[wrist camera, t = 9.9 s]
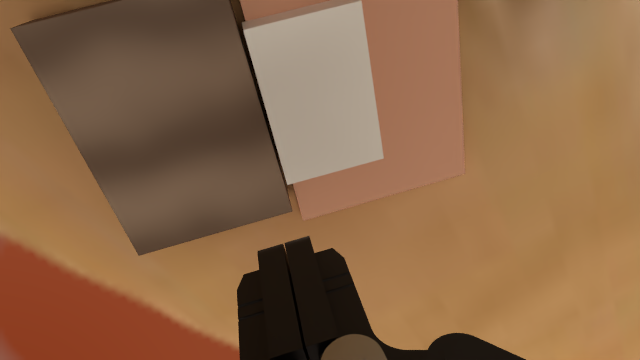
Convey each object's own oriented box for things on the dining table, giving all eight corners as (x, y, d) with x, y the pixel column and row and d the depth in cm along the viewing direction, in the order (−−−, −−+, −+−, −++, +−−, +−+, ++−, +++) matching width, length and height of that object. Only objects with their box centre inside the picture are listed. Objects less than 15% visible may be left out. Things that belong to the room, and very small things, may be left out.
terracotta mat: (218, -73, 21) (218, -74, 20) (443, -128, 22) (452, -132, 21) (301, 213, 30) (303, 220, 30) (458, 167, 31) (465, 173, 30)
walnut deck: (31, 20, 22) (10, 28, 20) (222, -28, 22) (221, -25, 20) (145, 232, 29) (138, 255, 27) (287, 191, 29) (292, 211, 27)
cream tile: (241, 22, 23) (243, 30, 21) (348, -5, 23) (361, 0, 21) (282, 166, 27) (287, 185, 25) (371, 142, 28) (383, 158, 25)
